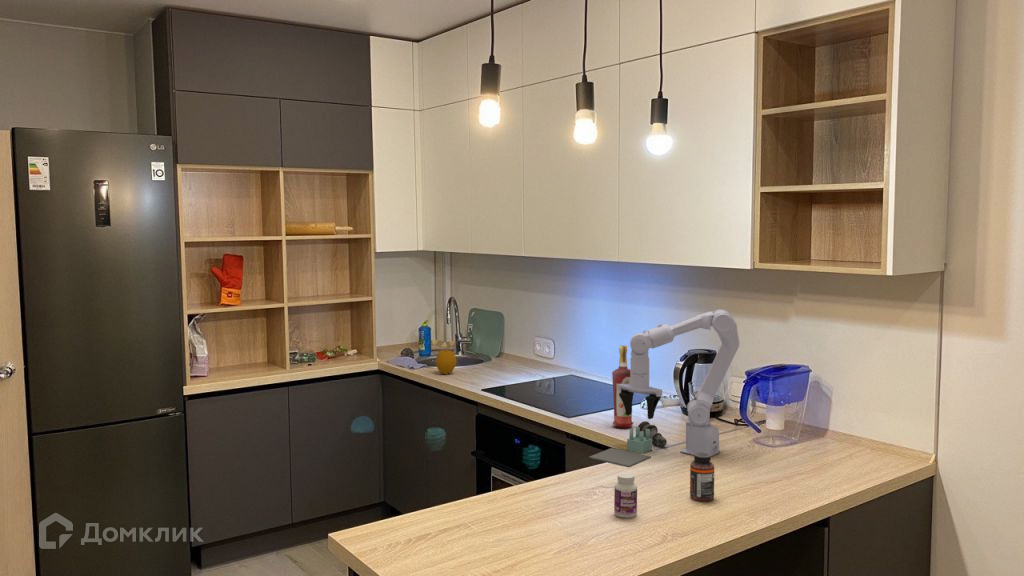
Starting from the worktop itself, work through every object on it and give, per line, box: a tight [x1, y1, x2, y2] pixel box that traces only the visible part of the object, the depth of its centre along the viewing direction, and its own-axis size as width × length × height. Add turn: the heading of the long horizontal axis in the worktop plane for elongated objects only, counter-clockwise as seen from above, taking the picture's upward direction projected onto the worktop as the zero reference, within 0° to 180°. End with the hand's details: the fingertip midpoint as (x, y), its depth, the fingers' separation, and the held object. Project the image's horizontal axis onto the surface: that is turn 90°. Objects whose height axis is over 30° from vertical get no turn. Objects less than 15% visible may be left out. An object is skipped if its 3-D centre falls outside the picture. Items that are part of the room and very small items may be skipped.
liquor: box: [611, 345, 634, 430], centre depth 269 cm, size 7×7×28 cm
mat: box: [588, 447, 652, 468], centre depth 234 cm, size 14×12×1 cm
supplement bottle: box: [689, 453, 715, 502], centre depth 199 cm, size 6×6×11 cm
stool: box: [626, 426, 653, 455], centre depth 242 cm, size 6×6×6 cm
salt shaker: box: [637, 420, 668, 447], centre depth 248 cm, size 6×6×12 cm
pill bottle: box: [613, 472, 638, 519], centre depth 188 cm, size 5×5×10 cm
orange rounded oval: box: [435, 349, 457, 375], centre depth 369 cm, size 10×10×12 cm
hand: (639, 416), depth 242 cm, fingers open, 7 cm apart
